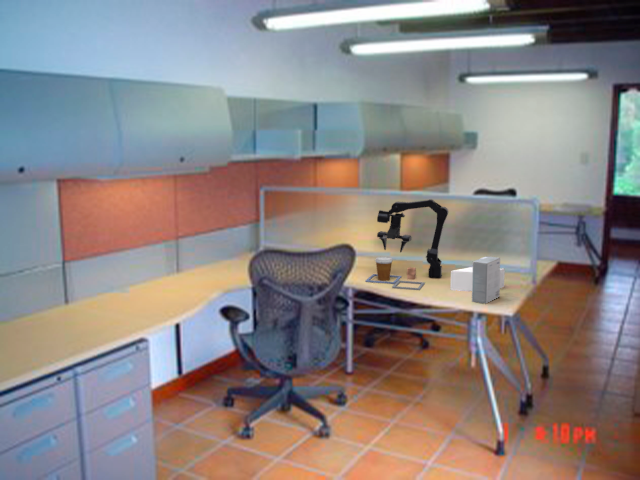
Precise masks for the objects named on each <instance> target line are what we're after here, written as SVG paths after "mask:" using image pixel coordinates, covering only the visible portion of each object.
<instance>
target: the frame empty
mask: <svg viewBox="0 0 640 480" xmlns="http://www.w3.org/2000/svg"><path fill="white" fill-rule="evenodd" d="M400 283H401V284H414V285H419V286H417V287H408V286H398V285H399V284H400ZM425 283H426V282H423V281H412V280H411V281H409V280H398V281H397V282H396V283H395V284H392V286H391V289H397V290H398V289H400V290H410V291H420V290H421V289H422V288H423V287H424V285H425Z"/></svg>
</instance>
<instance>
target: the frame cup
mask: <svg viewBox="0 0 640 480" xmlns="http://www.w3.org/2000/svg"><path fill="white" fill-rule="evenodd" d="M374 277H378V275H377V273H376V274H375V273H372V274H371V275H370V276H368V278H367V279H365V281H364V282H366V283H374V284H375V283H376V284H377V283H378V284H388V285H394V284H395V283H396V282H397V281H398V280H399V279H400V278H401V279H402V277H403V276H402V275H392V274H390V278H395V280H394V281H380V280H374V279H373V278H374ZM372 279H373V280H372ZM399 281H400V280H399Z"/></svg>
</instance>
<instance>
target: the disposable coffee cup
mask: <svg viewBox="0 0 640 480" xmlns="http://www.w3.org/2000/svg"><path fill="white" fill-rule="evenodd" d="M374 261H375V263H376V264H375V265H376V274H377V275H378V276H377V281H387V282H389V281H390V278H391V277H390V275H391V271H392V263H393V258H392V257H389V256H377V257H376V258H375V260H374Z"/></svg>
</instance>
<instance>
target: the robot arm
mask: <svg viewBox="0 0 640 480" xmlns="http://www.w3.org/2000/svg"><path fill="white" fill-rule="evenodd" d="M423 208H430V209H431V210H432V211H433V212H434V213H435V214H436V225H435V230H434V234H433V239H432V243H431V247H430V248H428V249H427V250H426V255H425V258H426V262H427V263H428V264H429V267H428V278H430V279H431V278H433V279H441V278H442V277H443V275H442V274H443V273H442V272H443V271H442V269H443V266H442V265H441V264H442V259H440V258H439V247H440V246H439V245H440V241H441V237H442V234H443V233H442V232H443V230H444V229H443V228H444V224H445V223H446V220H447V217H448V215H449V209H448V208H447V207H445V206H442V205H440V203H438V202H436V201H435V200H434V199H432V198H430V199H425V200H418V201H417V200H416V201H415V200H414V201H409V202H408V201H407V202H406V201H395V202H394V203H393V204H392V205H391V209H389V210H387V211H386V210H381V209H380V210H378V214H377V223H381V224H388V223H389V224H390V225H389V228H388V230H387V231H381V230H380V231H378V232H377V234H376V237H377V238H378V239H379V240H381V242H382V245H383V250H384V251H386V250H387V242H388V241H387V240H388V239H390V240H395V239H398V240H399V239H400V240H402V241H401V242H400V243H401V245H400V249H399V251H400V252H399V253H402V251H403V250H404V247H405V246H406V244H407V243H409V242H411V241H412V238H413V237H412V235H411V234H403V235H401V228H402V218H405V217H406V215H405V213H403V212H405V211H407V210H413V209H414V210H415V209H423ZM394 213H395V214H394Z"/></svg>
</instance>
